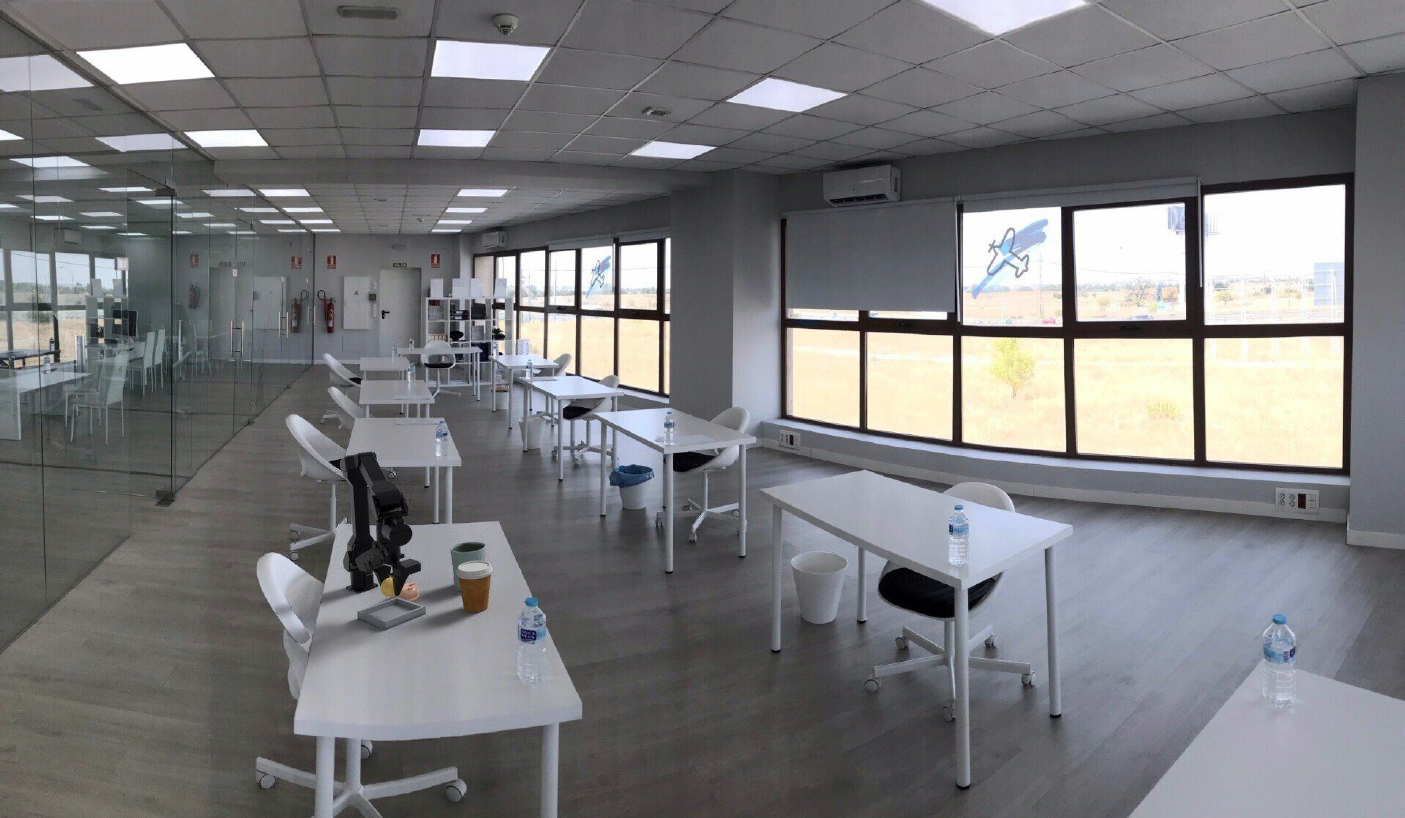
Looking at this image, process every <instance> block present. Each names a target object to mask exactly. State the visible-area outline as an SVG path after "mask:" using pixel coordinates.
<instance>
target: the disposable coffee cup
mask: <svg viewBox="0 0 1405 818" xmlns="http://www.w3.org/2000/svg"><path fill="white" fill-rule="evenodd" d="M493 570H494V568H493V567H492V564H491V562H489V561H486V560H485V561H470V562H465V563H463V564H461V565H459V566H458V570H457V571H456V573H457V575H458V577H459V583H460V589H461V591H460V594H461V599H462V607H463V611H465V612H467V613H474V614H475V613H480V612H481V613H482V612H484V611H485V610H487V609H489V598H490V589H491V579H492V573H493Z"/></svg>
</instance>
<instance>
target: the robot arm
mask: <svg viewBox="0 0 1405 818" xmlns="http://www.w3.org/2000/svg"><path fill="white" fill-rule="evenodd" d="M377 458H378V457H377V454H376V452H375V451H366V452H365V451H362V452H357V453H355V454H348V455H344V456H343V458H342V459H341V460H340V462H339V468H340V471H341V473H342V477H343V478H344V480H345V481H346V482H347V483H348V485H349V493H350V494H349V495H350V511H351V529H352V530H351V531H352V535H351V536H350V538H349V540H348V542H347V544H346V551H345V553H344V556H343V559H342V564H343V570H345V571H346V572H347V573H350V576H349V578H350V585H347V586H345V589H347V590H350V591H352V592H355V593H363V592H365V591H369V590H371V589H374V588H377V587H380V588H381V584H382V582H383V581H384V580H385V579H387V578H392V580H393V587H394V593H395V596H399V595H400V593H401V591H402V588H403V586H404V584H406V582H407V580H408V578H409V576H411V575H413V574H416V573H419V572H421V571H422V562H420V561H419V560H416V559H412V558H406V556H405V553H402V549H401V547H404V546H405V545H407V544H409V543H410V541H411V540H412V538H413V530H412V528H411V526H410V525H408V524H407V523H405V519H404V518H403V517H408V516H409V513H408V511H409V508H410V507H409V506H408V503H407V500H406V498H405V496H404V493H403V491H401V490H400V488H399V487H398V486H397V484H396V483H393V482H390V481H389V480H388V479H387V477H386V475H385V474H384V471H383V469H382V467H381V466H380V464H379V462H378V459H377ZM369 491H370V496H369ZM370 510H371V512H372V515H373V518H374V519H375V535H376V537H375V538H376V539H375V538H374V537H373V536H372V535H371V527H370V526H371V524H370ZM404 558H406V559H404ZM401 559H403V560H401ZM374 575H375V577H376V579H377V582H378V583H376V582H375V580H374Z"/></svg>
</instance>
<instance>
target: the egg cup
mask: <svg viewBox="0 0 1405 818" xmlns="http://www.w3.org/2000/svg"><path fill="white" fill-rule="evenodd" d="M396 597H399V598H402V599H405V600H408V601H411V602H415V601H416V600H418V599H420V597H421V593H420V592H419V591H418V585H417V584H416V583H415V582H409V583H405V584H404V586H403V588H402V591H401V593H400V595H399V596H393V597H390V599H393V598H396Z"/></svg>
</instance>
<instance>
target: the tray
mask: <svg viewBox="0 0 1405 818" xmlns="http://www.w3.org/2000/svg"><path fill="white" fill-rule="evenodd" d="M426 614H427V607H426V606H425V605H422V604H419V603H417V602H415V601H412V602H411V601H408V600H405V599H402V598H399V597H396V598H393V599H391V598H390V599H387V600H385V601H383V602H379V603H376V604H374V605H372V606H371V605H370V606H369V607H366V608H363V609H361V610H358V611H357V612H356V615H357V620H359V621H361V622H364V623H366V624H369V625H373V626H375V627H377V628H380V629H382V630H385V631H387V630H390V629H393V628H394V627H397V626H400V625H402V624H404V623H407V622H409V621H412V620H415V619H417V618H419V617H422V616H425V615H426Z"/></svg>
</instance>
